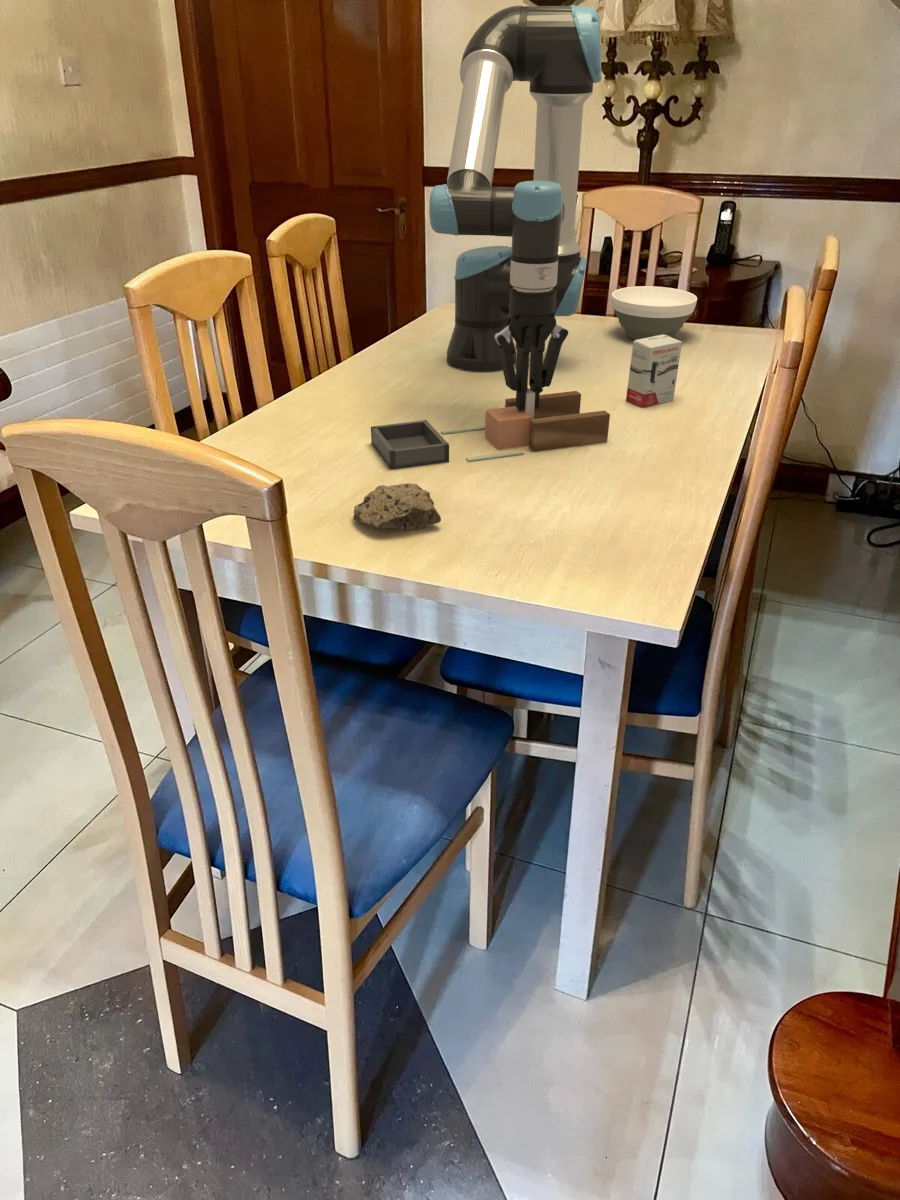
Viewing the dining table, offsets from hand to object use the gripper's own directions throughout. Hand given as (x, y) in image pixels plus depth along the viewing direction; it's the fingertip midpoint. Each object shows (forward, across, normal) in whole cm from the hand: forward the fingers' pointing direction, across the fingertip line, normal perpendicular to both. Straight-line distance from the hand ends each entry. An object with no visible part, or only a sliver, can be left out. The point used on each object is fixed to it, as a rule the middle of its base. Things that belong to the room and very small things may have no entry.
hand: (526, 426), depth 158 cm
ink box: (+2, +31, +10) cm, 32 cm away
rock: (+2, -31, -23) cm, 39 cm away
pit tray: (+2, -21, 0) cm, 21 cm away
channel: (+2, +6, 0) cm, 6 cm away
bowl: (+2, +54, +50) cm, 73 cm away
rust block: (+2, -4, 0) cm, 4 cm away
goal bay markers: (+2, -8, 0) cm, 9 cm away
